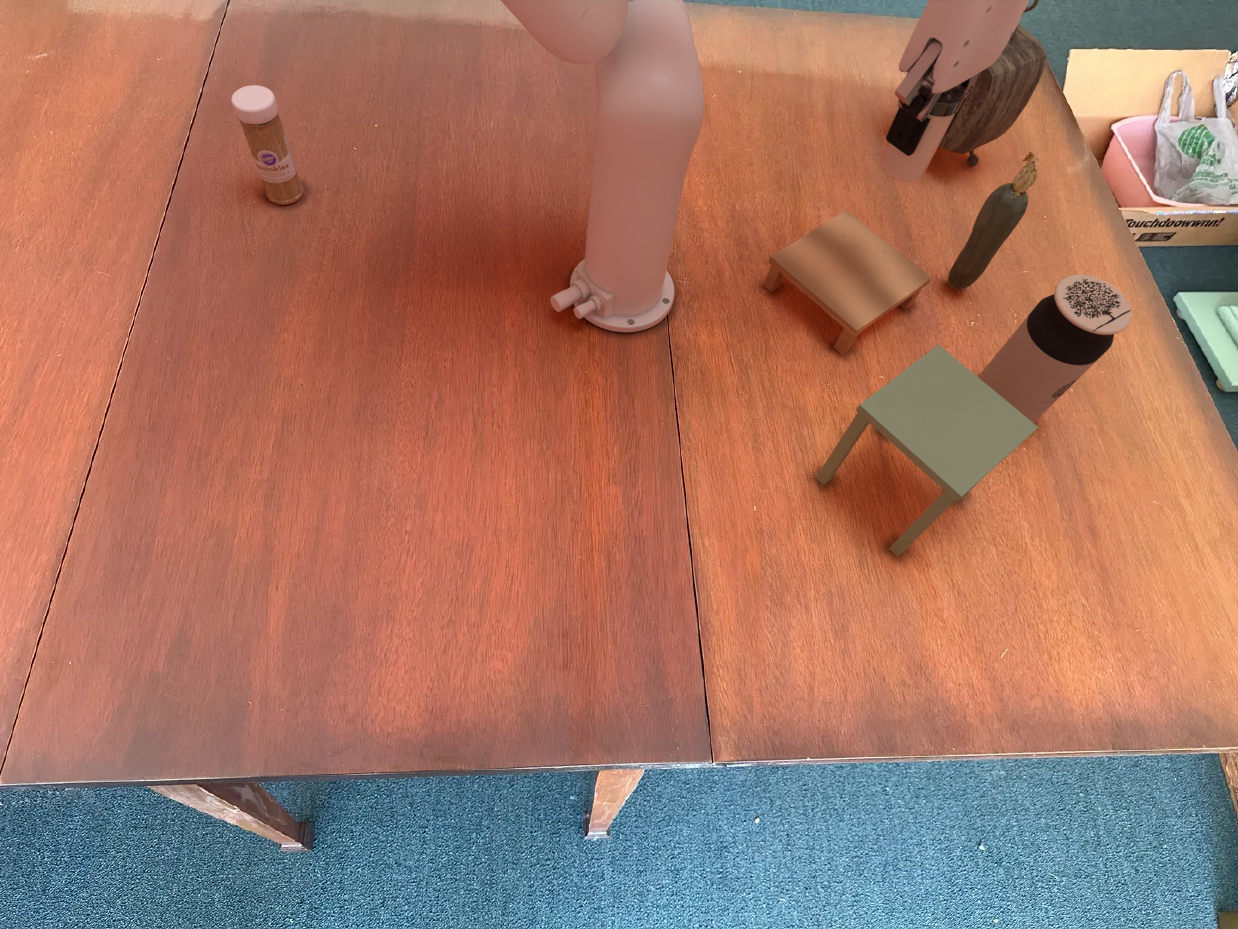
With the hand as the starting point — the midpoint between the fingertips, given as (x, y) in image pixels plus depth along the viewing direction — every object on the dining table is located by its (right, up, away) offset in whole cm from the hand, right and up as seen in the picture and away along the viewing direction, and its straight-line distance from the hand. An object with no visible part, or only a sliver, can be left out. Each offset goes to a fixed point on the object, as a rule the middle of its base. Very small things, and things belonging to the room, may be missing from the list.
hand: (916, 135), depth 77 cm
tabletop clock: (+16, +13, +36) cm, 42 cm away
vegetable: (+13, -10, +23) cm, 28 cm away
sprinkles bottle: (-71, +1, +20) cm, 74 cm away
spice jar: (0, -2, +3) cm, 4 cm away
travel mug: (+15, -26, +14) cm, 33 cm away
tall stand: (0, -35, +7) cm, 36 cm away
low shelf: (-2, -12, +20) cm, 23 cm away
